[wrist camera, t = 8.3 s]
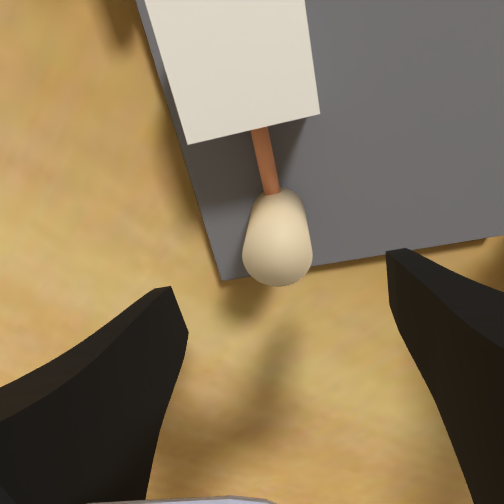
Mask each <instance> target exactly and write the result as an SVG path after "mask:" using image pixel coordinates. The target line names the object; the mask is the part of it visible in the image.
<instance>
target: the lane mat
mask: <svg viewBox="0 0 504 504" xmlns="http://www.w3.org/2000/svg"><path fill="white" fill-rule="evenodd" d="M135 1H136V4H137V7H138V10H139V14H140V17H141V20H142V23H143V27H144V30H145V33H146V36H147V40H148V43H149V46H150V49H151V53H152V56H153V59H154V62H155V66H156V69H157V72H158V75H159V79H160V82H161V85H162V88H163V92H164V95H165V98H166V101H167V105H168V108H169V111H170V114H171V118H172V121H173V124H174V127H175V131H176V134H177V137H178V140H179V144H180V147H181V150H182V153H183V157H184V160H185V163H186V166H187V170H188V173H189V176H190V179H191V182H192V186H193V189H194V192H195V195H196V199H197V202H198V205H199V208H200V212H201V215H202V218H203V221H204V225H205V228H206V231H207V234H208V238H209V241H210V244H211V247H212V251H213V254H214V257H215V260H216V264H217V267H218V270H219V273H220V277H221V280H222V281H225V280H231V279H238V278H244V277H250V276H251V275H250V274H249V273H248V272H247V270H246V268H245V266H244V264H243V259H242V251H243V246H244V241H245V237H246V232H247V228H248V223H249V219H250V214H251V210H252V206H253V203H254V201H255V199H256V198H257V197H258V196H259V195H260V194H261V193H262V192H263V191H264V190H263V185H262V181H261V176H260V172H259V167H258V163H257V158H256V154H255V149H254V145H253V140H252V136H251V131H250V130H249V131H245V132H241V133H236V134H232V135H228V136H223V137H219V138H215V139H211V140H206V141H202V142H198V143H193V144H189V145H188V144H187V141H186V137H185V134H184V131H183V127H182V124H181V121H180V117H179V114H178V111H177V107H176V104H175V101H174V97H173V94H172V91H171V87H170V84H169V81H168V77H167V74H166V71H165V67H164V64H163V61H162V57H161V54H160V50H159V47H158V44H157V40H156V37H155V34H154V30H153V27H152V24H151V20H150V17H149V14H148V10H147V7H146V4H145V0H135ZM305 7H306V15H307V22H308V29H309V36H310V44H311V51H312V58H313V65H314V73H315V80H316V87H317V94H318V102H319V109H320V114H318V115H314V116H309V117H305V118H301V119H296V120H292V121H288V122H283V123H279V124H275V125H271V126H268V131H269V136H270V141H271V146H272V151H273V156H274V161H275V166H276V171H277V176H278V181H279V186H280V187H282V188H287V189H290V190H292V191H293V192H295V193H296V194H297V195H298V196H299V197H300V198H301V200H302V202H303V204H304V207H305V213H306V219H307V224H308V230H309V235H310V241H311V247H312V254H313V257H312V263H311V266H317V265H323V264H329V263H336V262H342V261H348V260H354V259H360V258H366V257H372V256H378V255H385V254H386V252H385V251H390V250H396V249H402V248H407V249H410V250H415V249H421V248H427V247H434V246H440V245H446V244H452V243H458V242H464V241H470V240H476V239H483V238H489V237H495V236H501V235H504V0H305ZM311 266H310V267H311Z"/></svg>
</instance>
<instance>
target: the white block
mask: <svg viewBox="0 0 504 504" xmlns="http://www.w3.org/2000/svg"><path fill="white" fill-rule="evenodd" d="M145 4H146V7H147V10H148V14H149V17H150V20H151V24H152V27H153V30H154V34H155V37H156V40H157V44H158V47H159V50H160V54H161V57H162V61H163V64H164V67H165V71H166V74H167V77H168V81H169V84H170V87H171V91H172V94H173V97H174V101H175V104H176V107H177V111H178V114H179V117H180V121H181V124H182V127H183V131H184V134H185V137H186V141H187V144H188V145H189V144H193V143H198V142H202V141H206V140H211V139H215V138H219V137H223V136H228V135H232V134H236V133H241V132H245V131H249V130H250V131H251V136H252V140H253V145H254V149H255V154H256V158H257V163H258V167H259V172H260V176H261V181H262V185H263V190H264V191H263V192H262V193H261V194H260V195H259V196H258V197H257V198H256V199H255V201H254V203H253V206H252V210H251V214H250V219H249V223H248V228H247V232H246V237H245V241H244V246H243V251H242V259H243V264H244V266H245V268H246V270H247V272H248V273H249V274H250V275H251V276H252V277H253V278H254V279H255V280H257V281H258V282H260V283H262V284H265V285H269V286H275V287H280V286H287V285H290V284H293V283H295V282H297V281H298V280H300V279H301V278H302V277H303V276H304V275H305V274H306V273H307V272H308V270H309V268H310V266H311V263H312V257H313V254H312V247H311V241H310V235H309V230H308V224H307V219H306V213H305V207H304V204H303V202H302V200H301V198H300V197H299V196H298V195H297V194H296V193H295V192H293V191H292V190H290V189H287V188H282V187H280V186H279V181H278V176H277V171H276V166H275V161H274V156H273V151H272V146H271V141H270V136H269V131H268V126H271V125H275V124H279V123H283V122H288V121H292V120H296V119H301V118H305V117H309V116H314V115H318V114H320V109H319V102H318V94H317V87H316V80H315V73H314V65H313V58H312V51H311V44H310V36H309V29H308V22H307V15H306V7H305V0H145Z"/></svg>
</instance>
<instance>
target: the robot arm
mask: <svg viewBox="0 0 504 504" xmlns="http://www.w3.org/2000/svg"><path fill="white" fill-rule="evenodd" d="M385 252H386V265H387V278H388V292H389V305H390V308H391V311H392V314H393V316H394V319H395V322H396V325H397V327H398V330H399V332H400V334H401V336H402V338H403V340H404V342H405V344H406V346H407V348H408V350H409V352H410V354H411V356H412V358H413V359H414V361H415V363H416V365H417V367H418V369H419V371H420V373H421V375H422V377H423V378H424V380H425V382H426V384H427V386H428V388H429V390H430V392H431V394H432V396H433V398H434V400H435V403H436V405H437V407H438V410H439V412H440V415H441V417H442V420H443V422H444V425H445V427H446V430H447V432H448V435H449V437H450V440H451V443H452V445H453V448H454V451H455V453H456V456H457V459H458V461H459V464H460V466H461V469H462V472H463V474H464V477H465V480H466V483H467V485H468V488H469V491H470V494H471V496H472V499H473V502H474V504H504V292H501V291H498V290H495V289H493V288H490V287H487V286H485V285H483V284H480V283H478V282H475V281H473V280H471V279H468V278H466V277H464V276H462V275H459V274H457V273H455V272H453V271H451V270H449V269H447V268H445V267H443V266H441V265H439V264H437V263H435V262H433V261H431V260H429V259H427V258H425V257H423V256H422V255H420V254H418V253H416V252H414V251H412V250H410V249H407V248H402V249H396V250H390V251H385ZM188 333H189V332H188V329H187V327H186V324H185V322H184V319H183V316H182V314H181V311H180V309H179V306H178V303H177V301H176V298H175V295H174V293H173V290H172V288H171V286H168V287H162V288H156V289H153V290H152V291H150V292H148V293H147V294H145V295H144V296H143V297H141V298H140V299H139V300H137V301H136V302H135V303H133V304H132V305H131V306H129V307H128V308H127V309H126V310H124V311H123V312H122V313H120V314H119V315H118V316H116V317H115V318H114V319H113V320H111V321H110V322H109V323H107V324H106V325H104V326H103V327H102V328H100V329H99V330H98V331H96V332H95V333H93V334H92V335H91V336H89V337H88V338H87V339H85V340H84V341H82V342H81V343H79V344H78V345H76V346H75V347H73V348H72V349H70V350H68V351H67V352H65V353H64V354H62V355H60V356H59V357H57V358H55V359H54V360H52V361H50V362H49V363H47V364H45V365H43V366H41V367H39V368H37V369H36V370H34V371H32V372H30V373H28V374H26V375H24V376H22V377H21V378H19V379H17V380H15V381H13V382H11V383H9V384H7V385H4V386H2V387H0V504H276V503H273V502H271V501H269V500H267V499H260V498H251V497H241V496H214V497H195V498H176V499H158V500H145V499H146V493H147V488H148V483H149V478H150V473H151V468H152V463H153V458H154V454H155V449H156V445H157V441H158V436H159V432H160V428H161V425H162V422H163V418H164V415H165V412H166V409H167V406H168V404H169V401H170V398H171V395H172V392H173V389H174V386H175V383H176V381H177V378H178V375H179V372H180V369H181V366H182V363H183V360H184V356H185V351H186V346H187V340H188Z"/></svg>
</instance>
